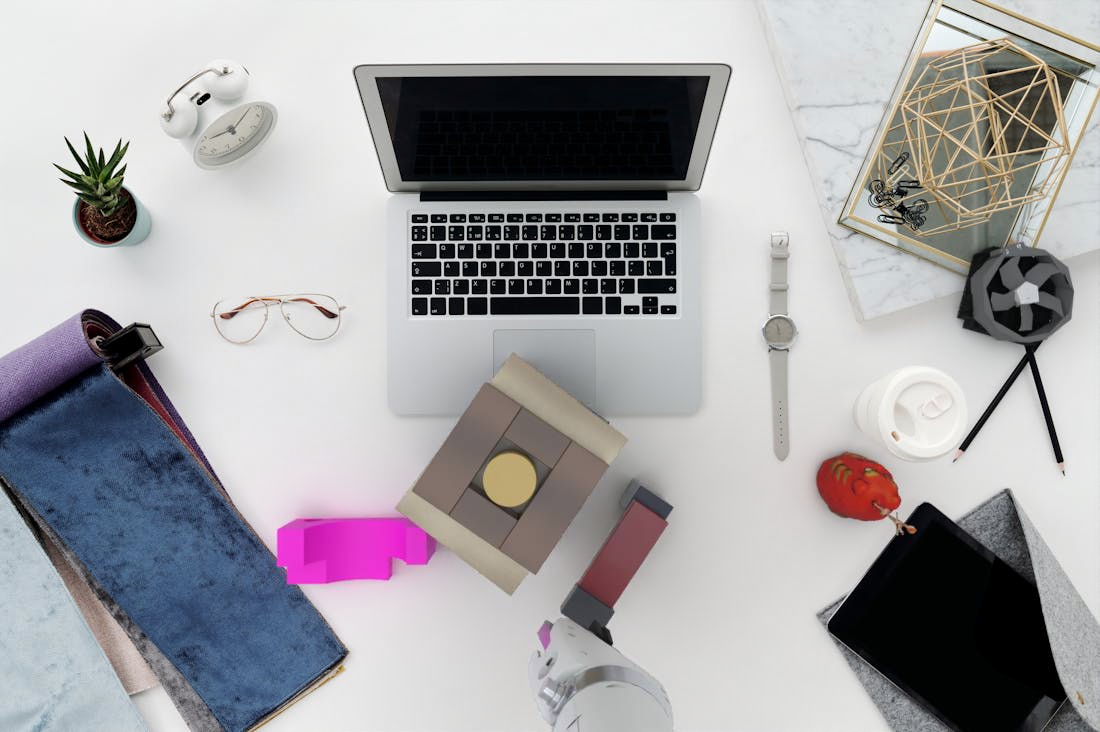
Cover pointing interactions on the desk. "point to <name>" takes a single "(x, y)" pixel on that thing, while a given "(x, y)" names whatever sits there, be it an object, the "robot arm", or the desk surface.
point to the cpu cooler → (1017, 294)
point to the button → (510, 478)
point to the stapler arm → (613, 566)
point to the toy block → (349, 548)
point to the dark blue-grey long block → (645, 499)
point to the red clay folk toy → (859, 489)
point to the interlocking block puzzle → (547, 439)
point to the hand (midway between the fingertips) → (591, 639)
